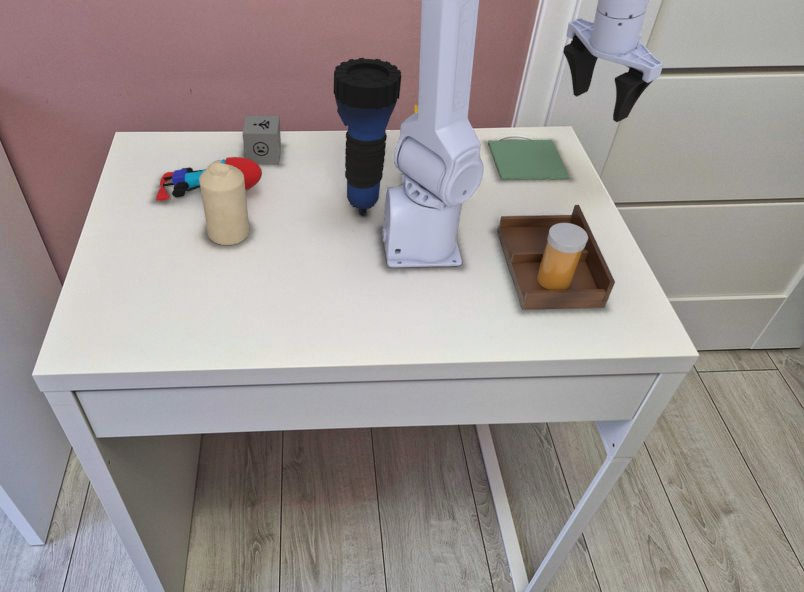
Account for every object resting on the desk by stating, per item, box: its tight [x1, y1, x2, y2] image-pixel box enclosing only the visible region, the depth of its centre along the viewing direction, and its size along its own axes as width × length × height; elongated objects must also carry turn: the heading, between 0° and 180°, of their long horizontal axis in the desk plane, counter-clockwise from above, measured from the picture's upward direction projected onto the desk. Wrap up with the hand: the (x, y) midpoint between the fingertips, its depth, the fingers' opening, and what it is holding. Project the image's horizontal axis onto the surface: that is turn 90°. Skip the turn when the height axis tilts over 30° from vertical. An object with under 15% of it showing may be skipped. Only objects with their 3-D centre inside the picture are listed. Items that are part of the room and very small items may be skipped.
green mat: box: [487, 139, 570, 181], centre depth 105 cm, size 10×10×1 cm
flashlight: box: [333, 57, 402, 218], centre depth 88 cm, size 8×8×20 cm
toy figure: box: [155, 156, 263, 202], centre depth 97 cm, size 8×5×15 cm
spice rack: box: [497, 204, 616, 311], centre depth 87 cm, size 10×15×4 cm, turn 3°
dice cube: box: [241, 115, 282, 165], centre depth 103 cm, size 5×5×5 cm
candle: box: [199, 162, 250, 246], centre depth 89 cm, size 6×6×10 cm
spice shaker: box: [537, 223, 588, 290], centre depth 82 cm, size 4×4×7 cm
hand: (600, 105), depth 95 cm, fingers open, 7 cm apart
